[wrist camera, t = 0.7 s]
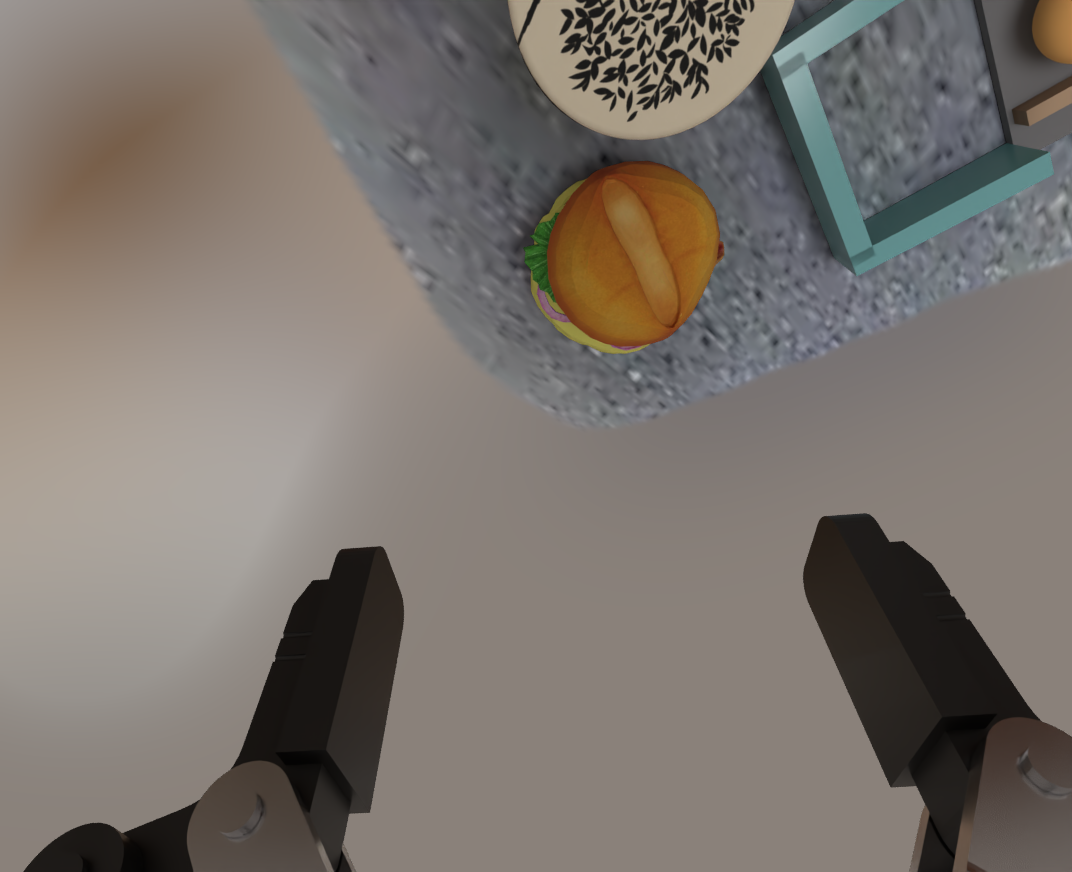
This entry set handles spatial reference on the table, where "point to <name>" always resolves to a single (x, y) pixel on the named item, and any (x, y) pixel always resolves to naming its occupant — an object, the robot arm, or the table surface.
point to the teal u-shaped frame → (825, 171)
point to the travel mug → (645, 58)
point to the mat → (1021, 70)
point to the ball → (1054, 29)
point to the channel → (1044, 103)
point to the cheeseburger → (624, 256)
